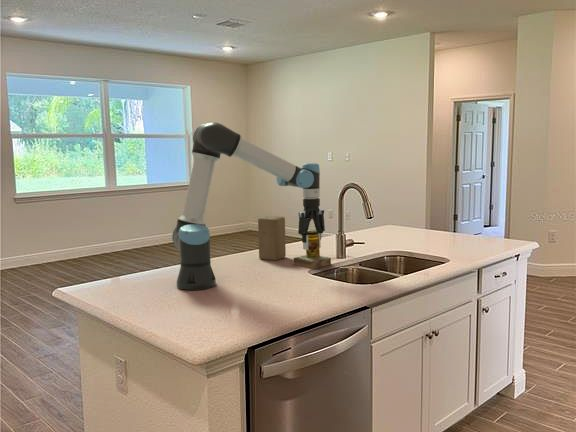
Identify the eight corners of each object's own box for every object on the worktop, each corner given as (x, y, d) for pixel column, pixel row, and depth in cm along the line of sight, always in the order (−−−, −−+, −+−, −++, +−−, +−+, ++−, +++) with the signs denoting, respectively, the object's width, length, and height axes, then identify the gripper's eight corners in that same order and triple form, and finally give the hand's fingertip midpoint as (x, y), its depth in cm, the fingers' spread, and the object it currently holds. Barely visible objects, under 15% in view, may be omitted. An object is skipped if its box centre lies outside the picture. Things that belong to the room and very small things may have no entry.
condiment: (310, 259, 229) (309, 233, 227) (300, 256, 236) (300, 230, 234) (324, 257, 232) (323, 231, 230) (314, 254, 239) (313, 228, 238)
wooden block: (258, 259, 247) (257, 218, 244) (268, 255, 255) (267, 215, 253) (276, 261, 242) (275, 219, 239) (286, 257, 251) (285, 216, 248)
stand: (311, 268, 226) (311, 261, 226) (293, 264, 235) (293, 257, 235) (330, 264, 234) (330, 257, 233) (313, 260, 243) (312, 253, 242)
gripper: (300, 200, 221) (301, 252, 224) (332, 196, 234) (333, 246, 237) (289, 199, 227) (290, 250, 230) (321, 195, 239) (322, 244, 242)
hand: (311, 248), depth 233 cm, fingers open, 7 cm apart
